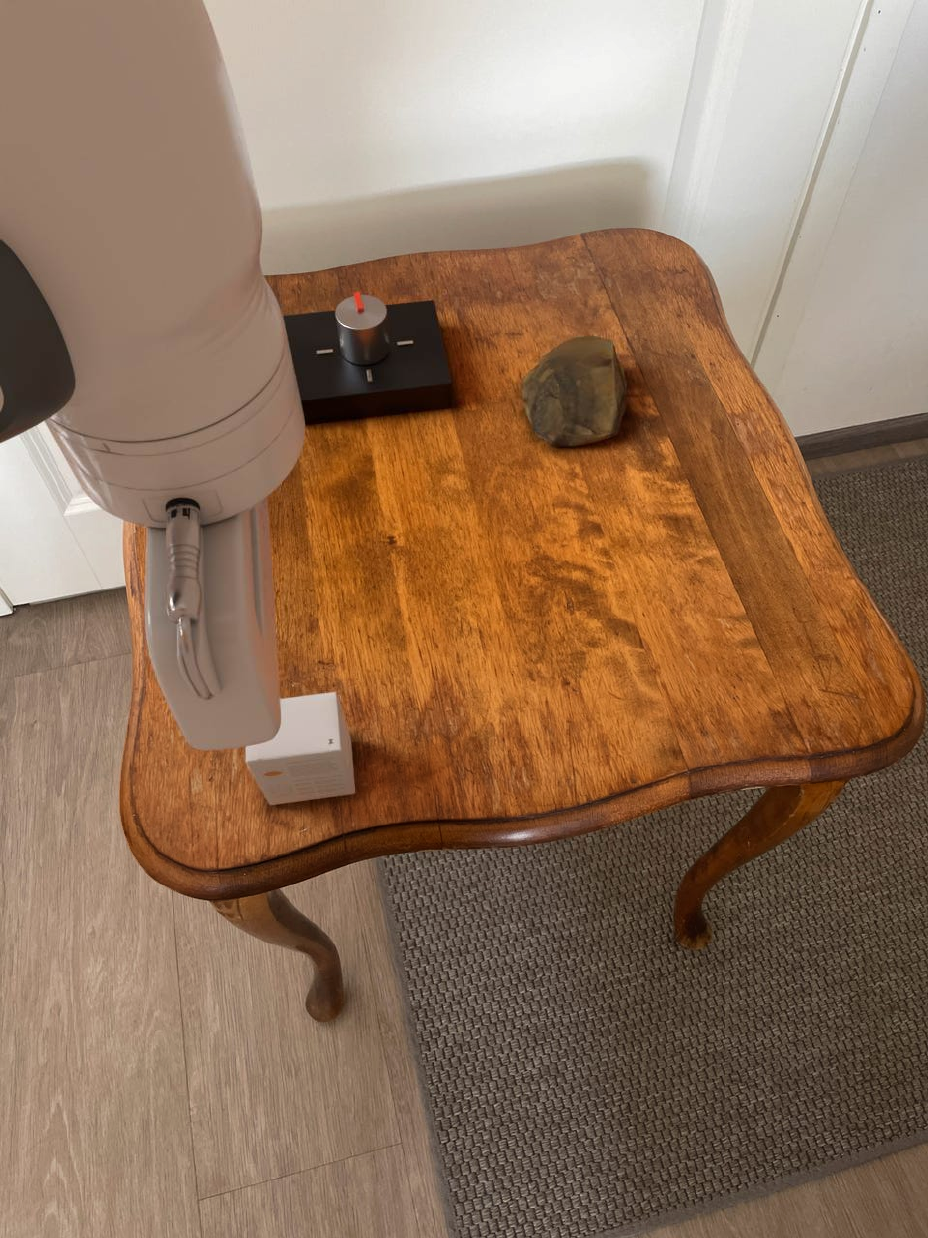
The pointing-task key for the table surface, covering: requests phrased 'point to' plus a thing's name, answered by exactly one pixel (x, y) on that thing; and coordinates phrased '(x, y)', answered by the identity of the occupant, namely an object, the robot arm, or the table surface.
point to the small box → (305, 752)
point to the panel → (370, 367)
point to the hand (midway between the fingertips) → (252, 607)
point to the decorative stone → (576, 393)
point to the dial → (363, 329)
